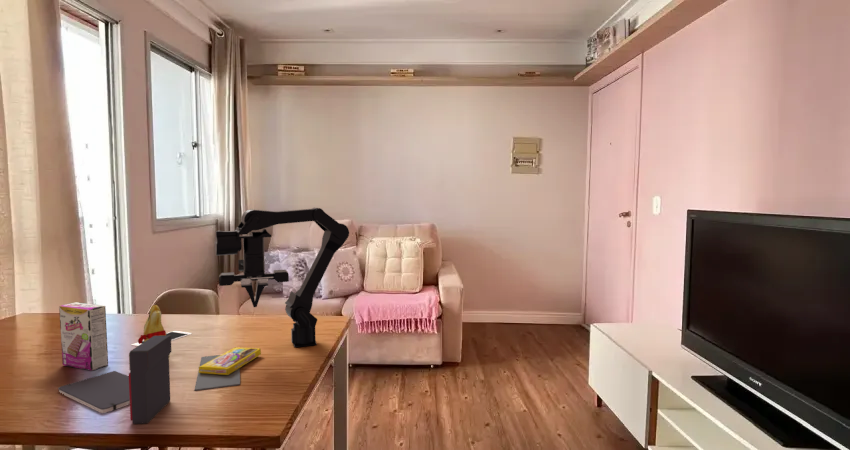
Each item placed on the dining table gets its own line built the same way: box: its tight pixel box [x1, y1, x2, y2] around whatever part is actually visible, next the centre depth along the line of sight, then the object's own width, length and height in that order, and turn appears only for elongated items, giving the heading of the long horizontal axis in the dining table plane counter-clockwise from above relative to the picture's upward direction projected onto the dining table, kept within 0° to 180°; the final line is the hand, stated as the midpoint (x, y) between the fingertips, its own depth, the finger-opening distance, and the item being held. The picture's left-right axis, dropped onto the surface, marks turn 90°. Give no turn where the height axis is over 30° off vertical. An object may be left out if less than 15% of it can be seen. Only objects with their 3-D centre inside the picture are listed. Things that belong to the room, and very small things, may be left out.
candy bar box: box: [58, 301, 109, 372], centre depth 131 cm, size 11×5×16 cm, turn 71°
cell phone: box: [130, 330, 193, 347], centre depth 155 cm, size 8×16×1 cm, turn 159°
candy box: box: [198, 346, 262, 375], centre depth 132 cm, size 16×2×8 cm
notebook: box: [57, 370, 130, 414], centre depth 115 cm, size 13×2×21 cm
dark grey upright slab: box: [128, 335, 172, 425], centre depth 104 cm, size 11×4×15 cm, turn 5°
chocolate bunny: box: [137, 304, 170, 358], centre depth 137 cm, size 7×11×15 cm, turn 45°
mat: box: [193, 354, 241, 392], centre depth 129 cm, size 10×24×1 cm, turn 21°
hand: (255, 306), depth 143 cm, fingers closed
